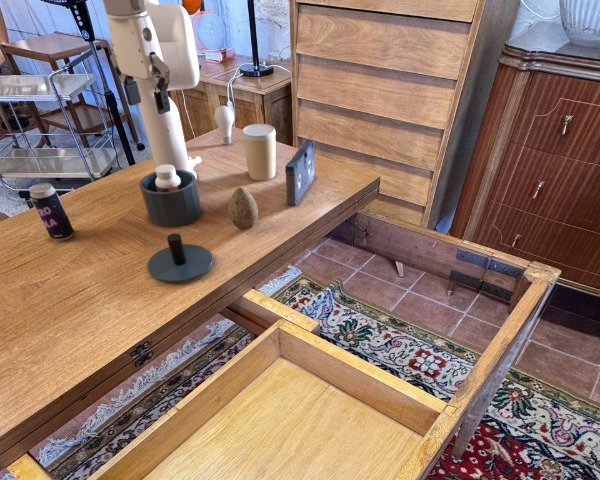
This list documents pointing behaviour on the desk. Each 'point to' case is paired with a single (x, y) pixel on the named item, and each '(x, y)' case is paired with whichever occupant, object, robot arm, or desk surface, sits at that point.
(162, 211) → the tin
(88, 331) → the desk surface
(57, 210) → the beverage can
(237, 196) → the decorative egg
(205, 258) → the tin lid
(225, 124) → the lightbulb
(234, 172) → the desk surface
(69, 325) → the desk surface
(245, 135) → the coffee cup
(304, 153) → the vhs cassette tape
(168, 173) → the pill bottle
